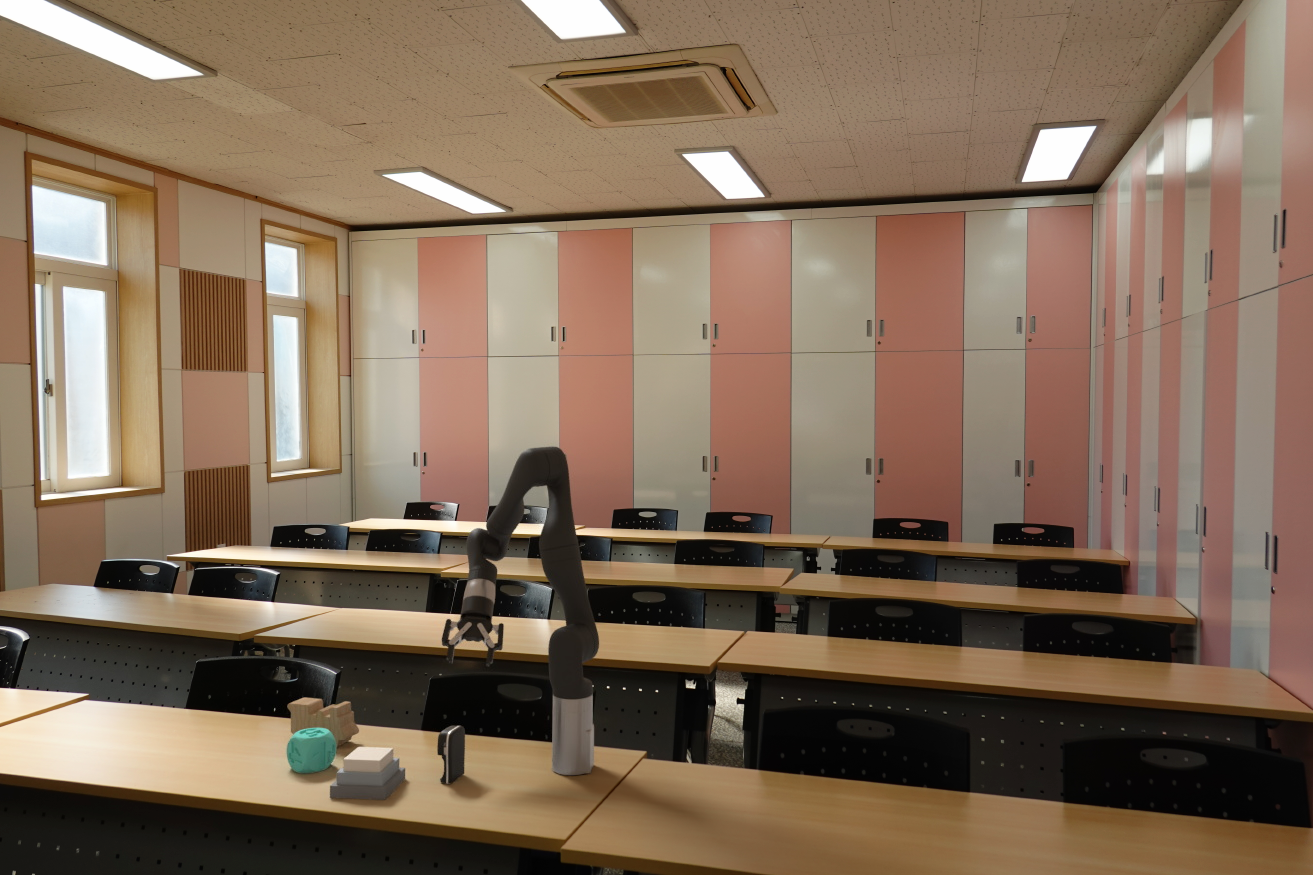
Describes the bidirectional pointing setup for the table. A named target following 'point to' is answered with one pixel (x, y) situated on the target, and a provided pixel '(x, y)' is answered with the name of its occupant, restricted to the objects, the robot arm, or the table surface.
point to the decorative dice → (311, 750)
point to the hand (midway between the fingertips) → (469, 663)
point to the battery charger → (452, 752)
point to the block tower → (368, 774)
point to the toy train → (323, 718)
